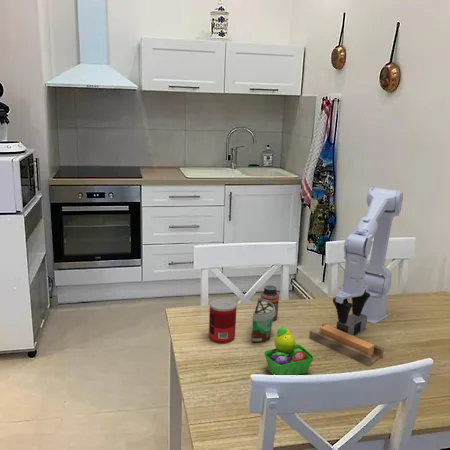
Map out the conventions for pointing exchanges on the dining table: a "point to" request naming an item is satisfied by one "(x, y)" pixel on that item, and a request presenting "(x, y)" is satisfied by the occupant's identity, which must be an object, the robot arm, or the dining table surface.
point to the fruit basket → (287, 355)
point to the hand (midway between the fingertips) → (349, 318)
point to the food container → (262, 321)
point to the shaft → (347, 339)
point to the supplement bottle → (271, 297)
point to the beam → (353, 324)
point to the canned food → (222, 320)
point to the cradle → (347, 348)
